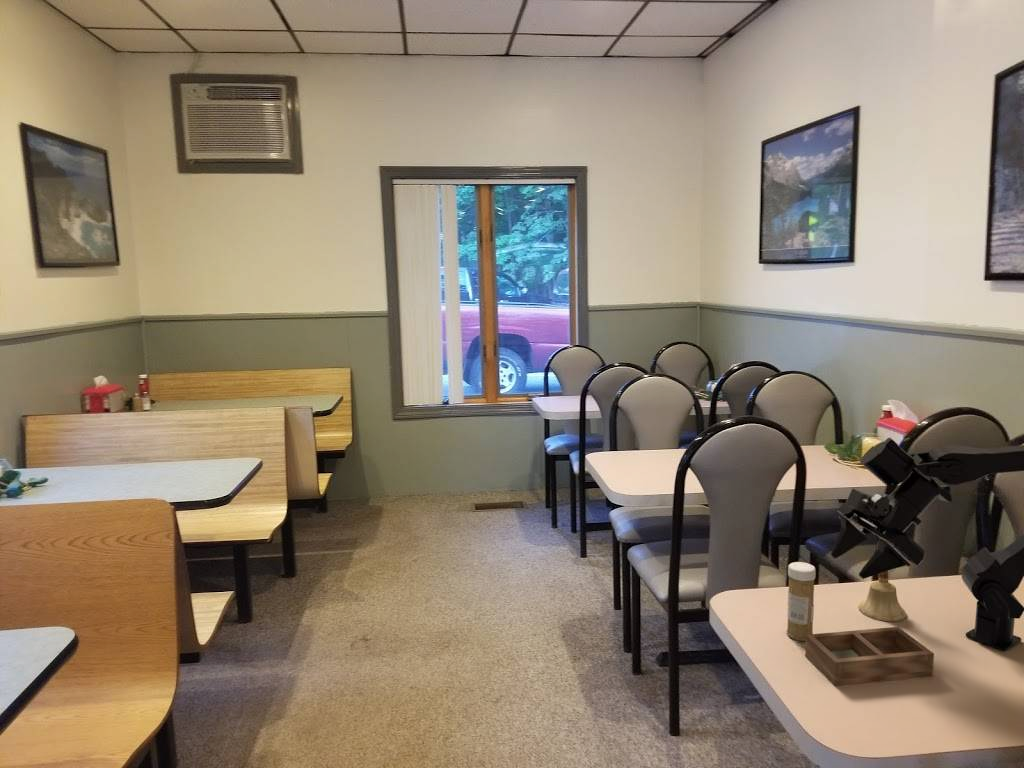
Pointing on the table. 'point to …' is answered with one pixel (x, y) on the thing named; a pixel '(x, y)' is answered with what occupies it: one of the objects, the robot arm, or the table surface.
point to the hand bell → (882, 600)
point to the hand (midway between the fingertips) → (846, 566)
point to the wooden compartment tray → (868, 656)
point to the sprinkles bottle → (800, 600)
